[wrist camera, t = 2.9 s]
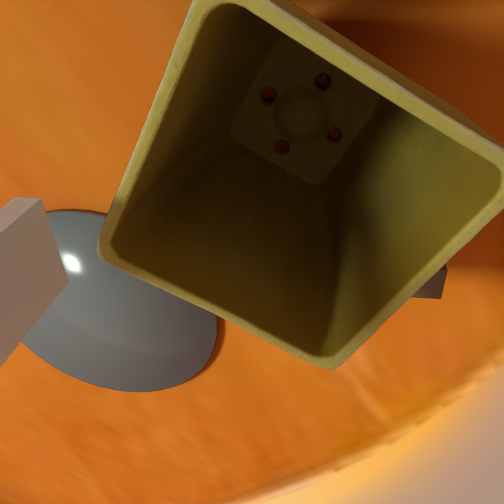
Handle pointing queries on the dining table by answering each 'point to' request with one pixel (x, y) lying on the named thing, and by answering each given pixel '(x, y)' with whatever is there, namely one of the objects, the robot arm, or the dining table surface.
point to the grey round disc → (116, 319)
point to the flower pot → (296, 181)
